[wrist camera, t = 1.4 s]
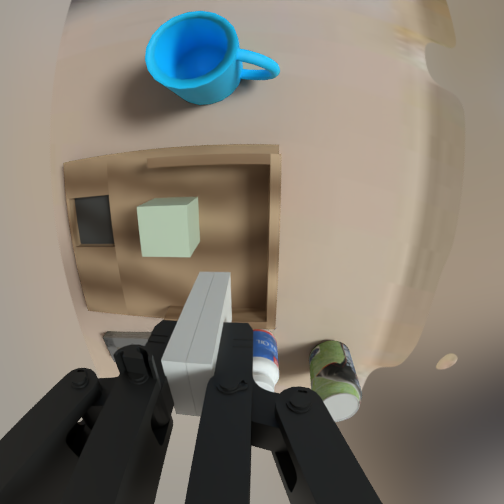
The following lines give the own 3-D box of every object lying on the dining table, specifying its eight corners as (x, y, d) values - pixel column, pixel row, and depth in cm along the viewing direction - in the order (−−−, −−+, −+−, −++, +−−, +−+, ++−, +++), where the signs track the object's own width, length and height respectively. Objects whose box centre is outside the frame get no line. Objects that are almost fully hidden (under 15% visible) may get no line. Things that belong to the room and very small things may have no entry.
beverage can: (329, 372, 39) (345, 432, 28) (292, 355, 38) (302, 420, 27) (356, 345, 37) (382, 404, 26) (320, 325, 36) (340, 389, 25)
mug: (164, 102, 27) (136, 87, 19) (179, 40, 24) (158, 12, 16) (270, 115, 27) (275, 101, 20) (283, 51, 24) (291, 21, 17)
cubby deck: (69, 161, 29) (49, 164, 24) (277, 145, 28) (281, 143, 24) (93, 305, 36) (78, 321, 32) (272, 315, 35) (274, 335, 31)
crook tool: (107, 330, 38) (102, 337, 36) (190, 330, 37) (187, 338, 35) (118, 355, 39) (114, 362, 37) (197, 357, 38) (195, 365, 37)
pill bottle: (284, 342, 37) (291, 393, 28) (256, 361, 38) (256, 413, 29) (257, 319, 36) (257, 370, 27) (229, 341, 37) (222, 392, 28)
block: (154, 198, 29) (136, 206, 24) (197, 196, 29) (186, 205, 24) (158, 241, 31) (142, 256, 26) (200, 241, 31) (190, 257, 26)
